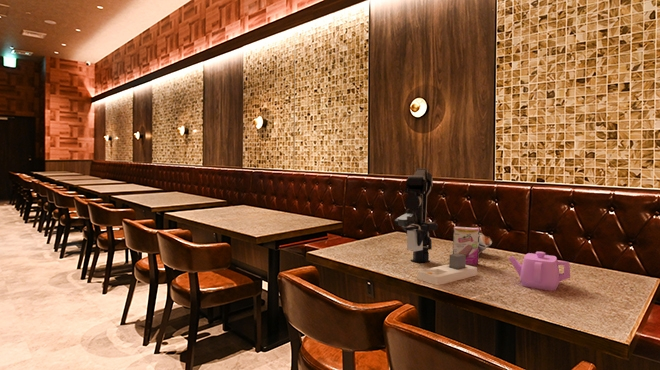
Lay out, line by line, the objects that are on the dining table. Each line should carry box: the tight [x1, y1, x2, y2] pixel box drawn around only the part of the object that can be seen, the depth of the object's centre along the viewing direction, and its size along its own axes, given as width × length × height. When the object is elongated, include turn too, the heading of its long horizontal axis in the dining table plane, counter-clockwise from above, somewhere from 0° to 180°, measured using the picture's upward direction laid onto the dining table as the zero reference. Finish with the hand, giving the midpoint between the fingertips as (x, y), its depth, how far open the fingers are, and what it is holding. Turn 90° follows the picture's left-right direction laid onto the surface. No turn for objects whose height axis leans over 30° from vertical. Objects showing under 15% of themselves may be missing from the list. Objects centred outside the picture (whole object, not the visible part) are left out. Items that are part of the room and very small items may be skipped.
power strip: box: [416, 263, 478, 286], centre depth 160 cm, size 10×24×4 cm, turn 125°
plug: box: [406, 229, 423, 252], centre depth 165 cm, size 4×5×8 cm
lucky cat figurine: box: [479, 232, 493, 255], centre depth 202 cm, size 15×12×14 cm
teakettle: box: [508, 251, 571, 292], centre depth 153 cm, size 17×17×12 cm
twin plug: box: [448, 253, 466, 270], centre depth 163 cm, size 4×5×8 cm
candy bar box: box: [452, 226, 480, 266], centre depth 182 cm, size 11×5×16 cm, turn 71°
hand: (414, 244), depth 165 cm, fingers closed on plug, 4 cm apart
